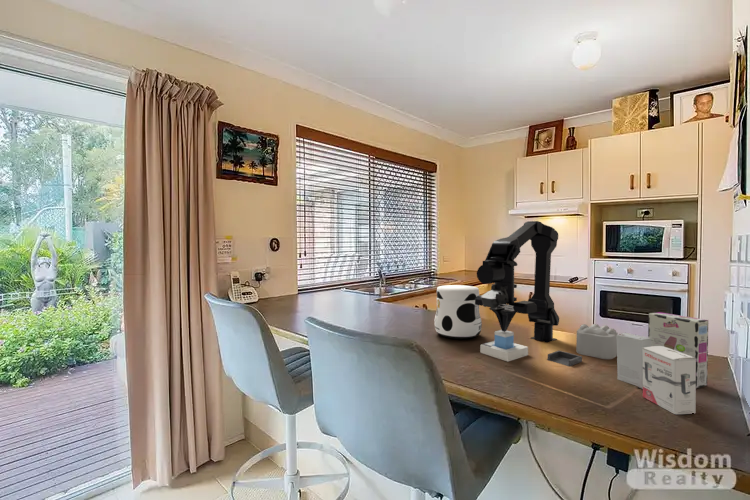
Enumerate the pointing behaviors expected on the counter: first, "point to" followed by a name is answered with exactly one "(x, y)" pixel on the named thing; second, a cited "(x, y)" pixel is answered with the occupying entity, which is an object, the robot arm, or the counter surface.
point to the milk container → (457, 312)
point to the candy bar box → (682, 338)
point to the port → (504, 351)
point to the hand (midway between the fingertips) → (504, 331)
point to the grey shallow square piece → (564, 358)
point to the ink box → (669, 379)
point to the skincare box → (631, 358)
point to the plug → (504, 339)
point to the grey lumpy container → (597, 341)
